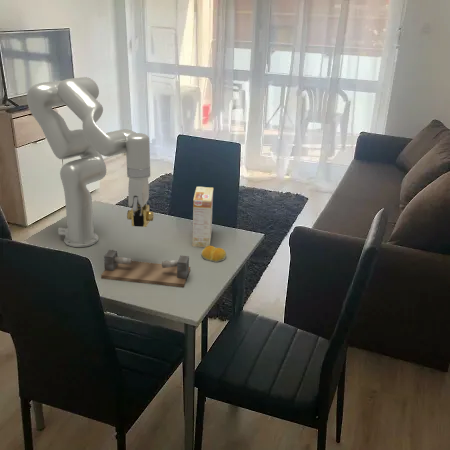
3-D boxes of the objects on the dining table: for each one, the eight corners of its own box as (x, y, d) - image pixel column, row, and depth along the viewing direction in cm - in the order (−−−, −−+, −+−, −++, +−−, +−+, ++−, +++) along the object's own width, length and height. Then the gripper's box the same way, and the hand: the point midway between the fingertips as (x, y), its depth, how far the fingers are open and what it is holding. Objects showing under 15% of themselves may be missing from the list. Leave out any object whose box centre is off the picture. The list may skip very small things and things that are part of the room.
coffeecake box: (194, 230, 205) (196, 186, 198) (212, 231, 205) (214, 187, 197) (191, 246, 192) (192, 199, 184) (209, 247, 192) (211, 200, 184)
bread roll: (221, 264, 180) (221, 254, 179) (198, 259, 183) (199, 249, 181) (229, 255, 187) (230, 245, 186) (207, 250, 190) (207, 240, 189)
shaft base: (101, 278, 166) (100, 259, 163) (112, 261, 177) (112, 243, 174) (183, 287, 164) (184, 268, 161) (190, 270, 175) (190, 251, 172)
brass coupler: (126, 225, 169) (126, 209, 166) (130, 220, 173) (130, 204, 171) (151, 227, 168) (150, 210, 166) (154, 221, 173) (154, 205, 170)
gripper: (134, 164, 171) (136, 213, 179) (120, 178, 156) (123, 232, 163) (155, 165, 171) (157, 214, 178) (143, 180, 155) (145, 233, 162)
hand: (140, 222), depth 170 cm, fingers closed on brass coupler, 5 cm apart
